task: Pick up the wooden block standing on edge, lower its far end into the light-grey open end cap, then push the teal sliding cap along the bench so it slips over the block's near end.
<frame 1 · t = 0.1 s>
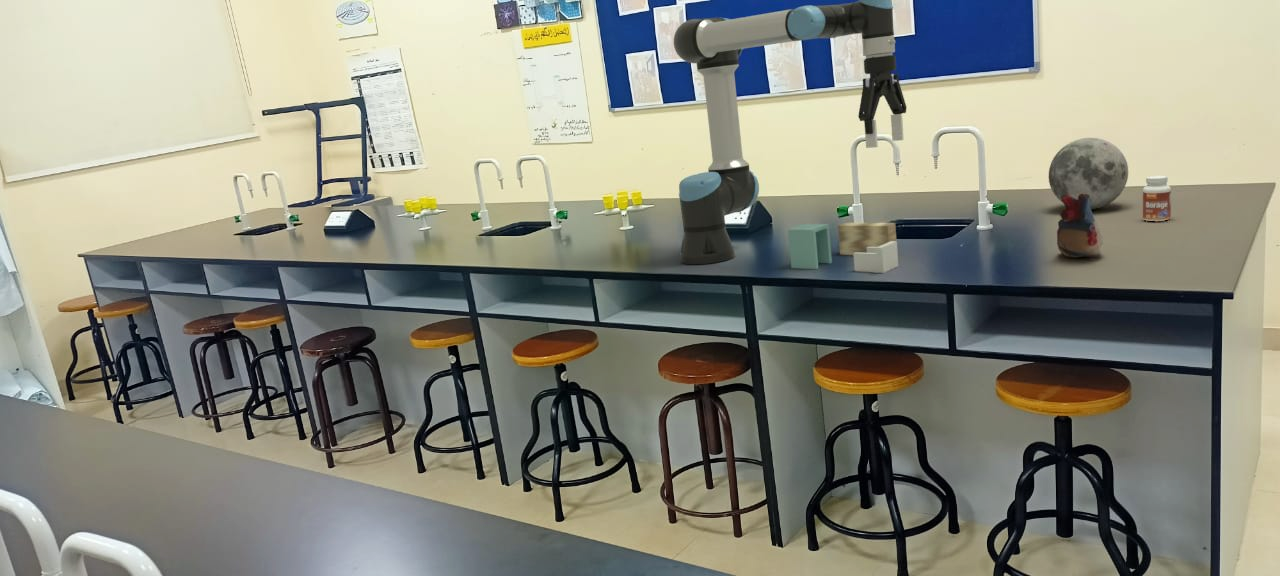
hand: (885, 144, 227), 28 cm above the table, fingers open, 13 cm apart
wooden block: (868, 254, 236), on the table
cap B: (810, 246, 229), point 5 cm above the table, slide at 0.0 cm
pill bottle: (1156, 221, 233), on the table
cap A: (875, 268, 218), on the table
anatomical model: (1079, 257, 205), on the table
moon model: (1088, 210, 258), on the table
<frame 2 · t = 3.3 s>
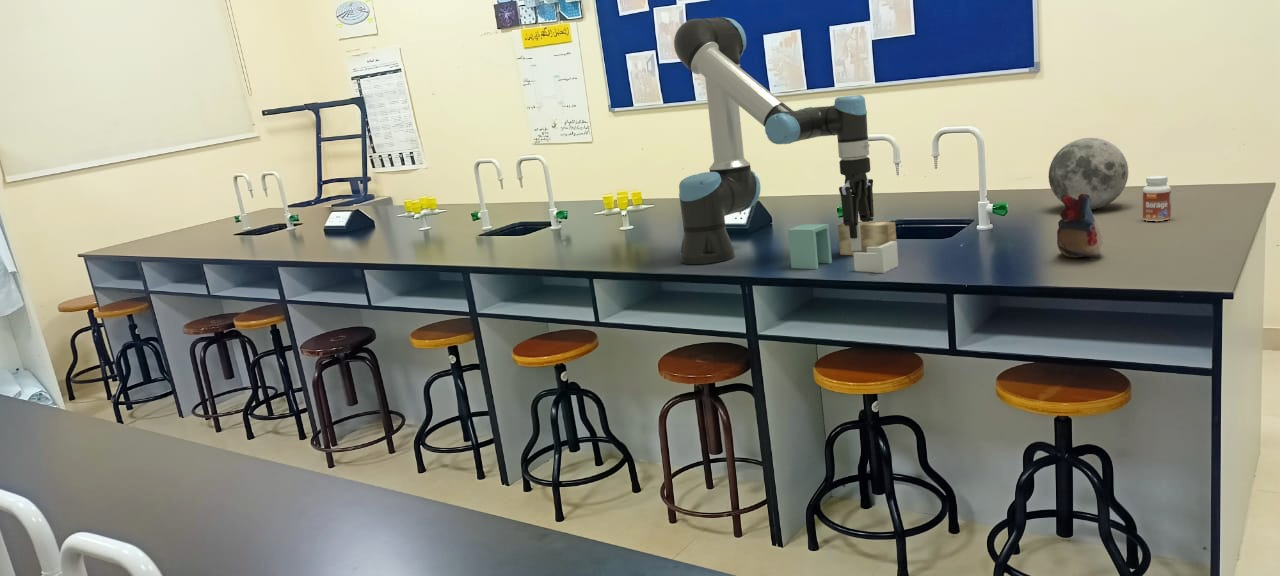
hand: (861, 248, 237), 2 cm above the table, fingers closed on wooden block, 4 cm apart
wooden block: (868, 254, 236), on the table, touching gripper
everything else where it was.
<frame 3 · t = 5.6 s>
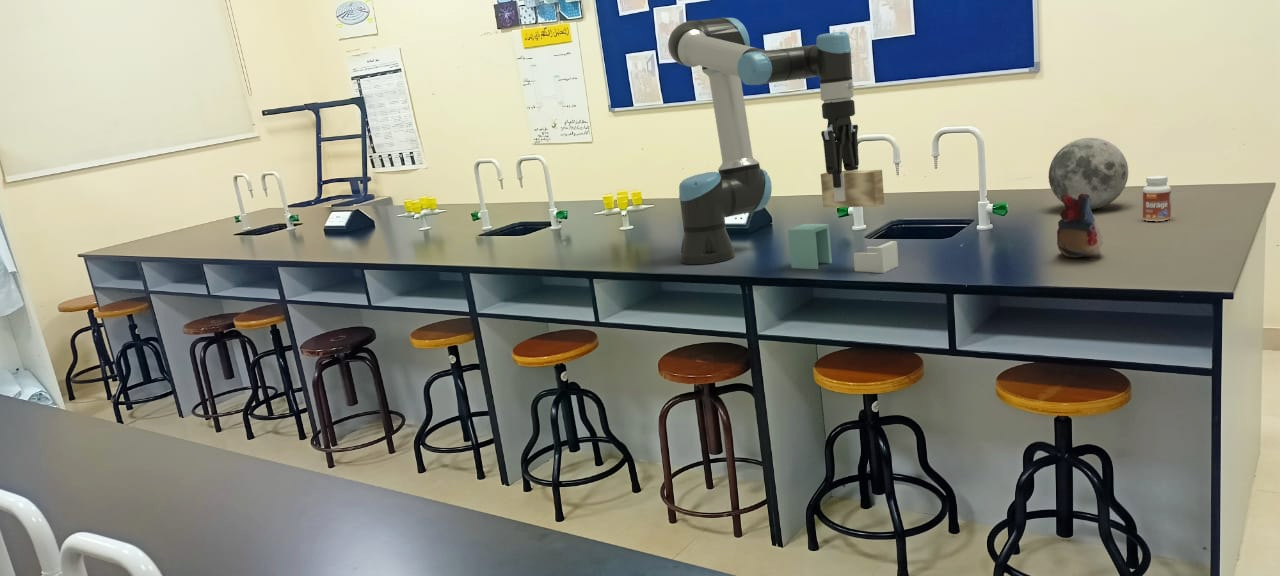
hand: (845, 199, 220), 17 cm above the table, fingers closed on wooden block, 4 cm apart
wooden block: (853, 205, 219), point 15 cm above the table, touching gripper
everything else where it was.
when the fingers open (3 cm above the table, at t = 8.1 s): wooden block drops 1 cm, on the table.
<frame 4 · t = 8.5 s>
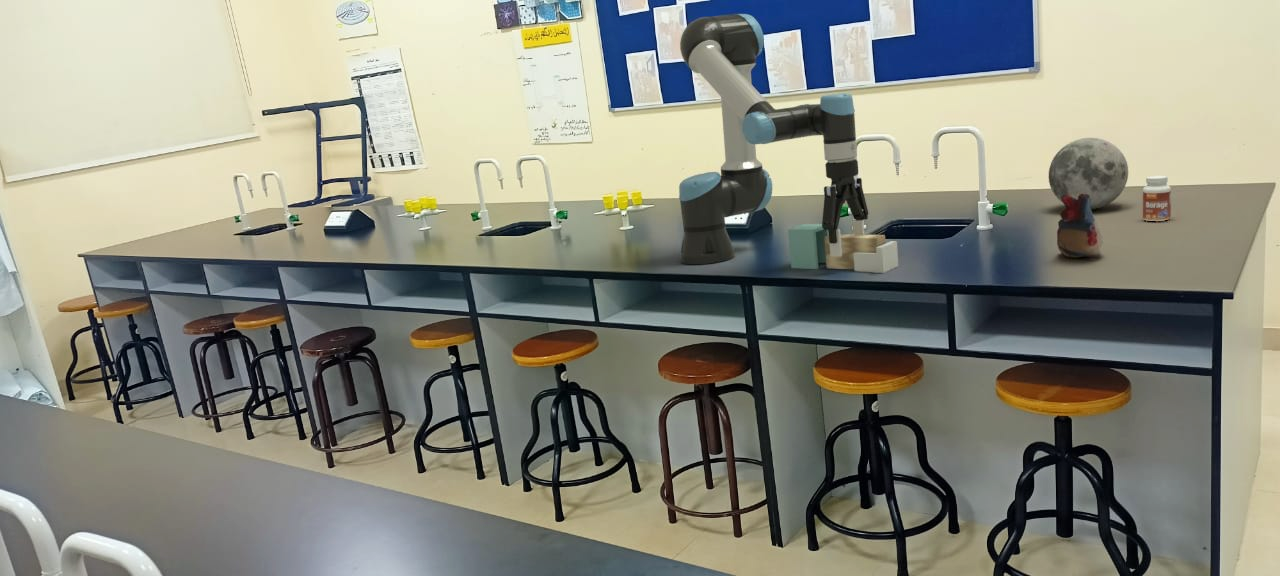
hand: (848, 251, 222), 4 cm above the table, fingers open, 10 cm apart
wooden block: (856, 268, 222), on the table
everything else where it was.
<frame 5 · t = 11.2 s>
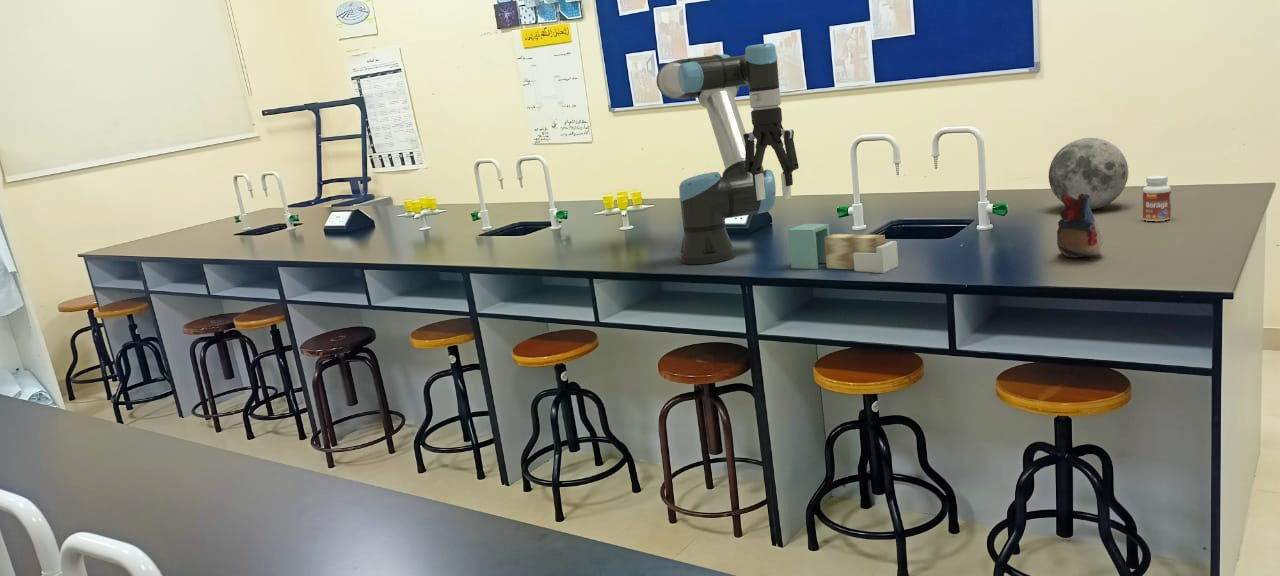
hand: (774, 199, 233), 17 cm above the table, fingers open, 7 cm apart
nothing on the table moved.
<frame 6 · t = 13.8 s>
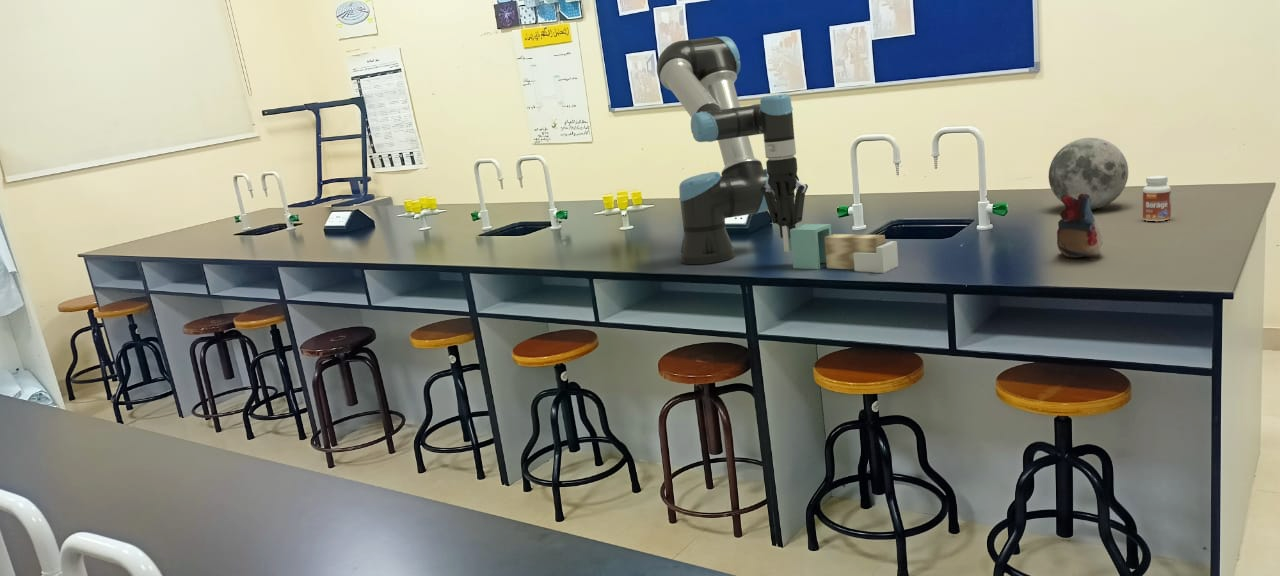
hand: (789, 250, 233), 4 cm above the table, fingers closed
cap B: (811, 246, 229), point 5 cm above the table, slide at 0.6 cm, touching gripper
everything else where it was.
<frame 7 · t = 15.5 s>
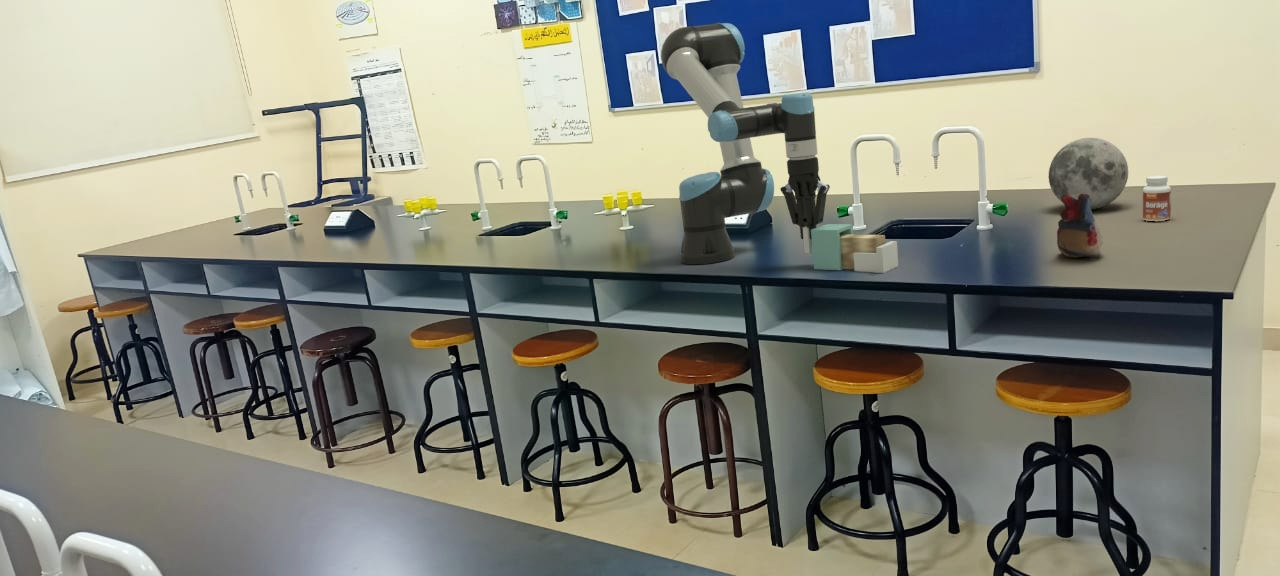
hand: (810, 251, 229), 4 cm above the table, fingers closed
cap B: (833, 246, 225), point 5 cm above the table, slide at 6.6 cm, touching gripper
everything else where it was.
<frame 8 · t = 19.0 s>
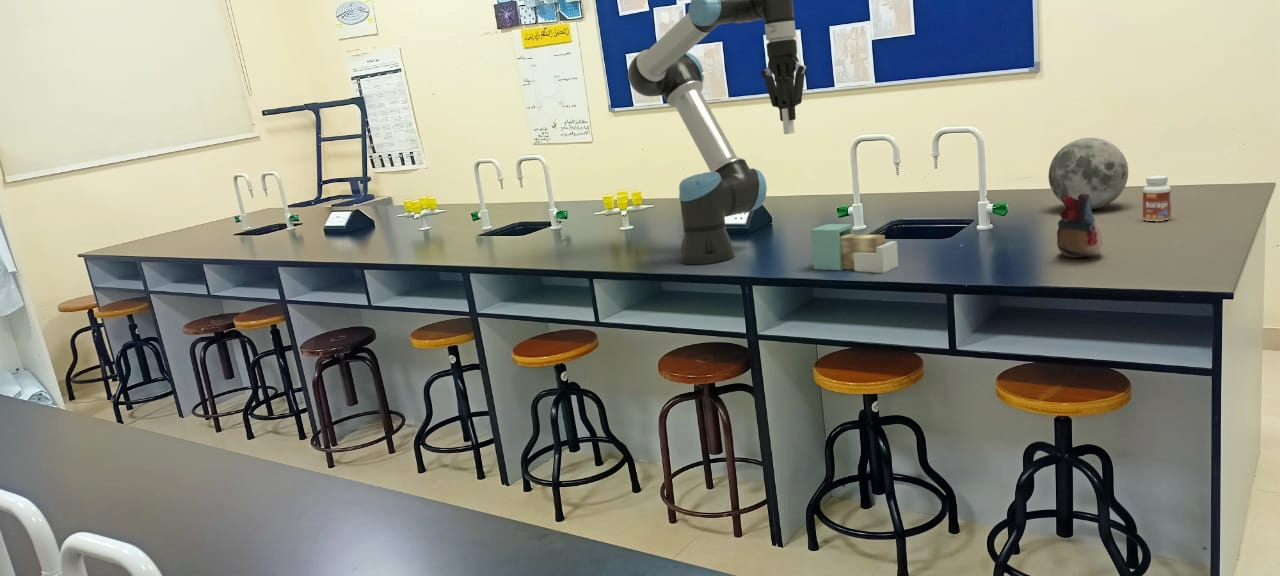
hand: (789, 133, 238), 32 cm above the table, fingers closed
cap B: (833, 246, 225), point 5 cm above the table, slide at 6.6 cm
everything else where it was.
at the end: wooden block 0.4 cm from the target spot on the table beside the cap A, on the table; cap B slide at 6.6 cm; the gripper is holding nothing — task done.
